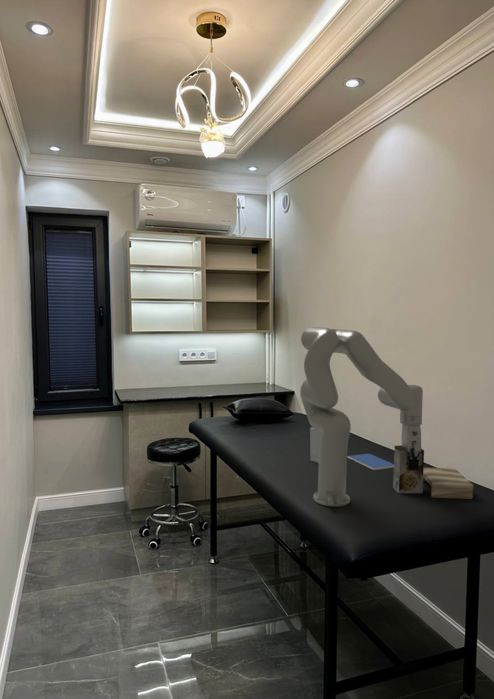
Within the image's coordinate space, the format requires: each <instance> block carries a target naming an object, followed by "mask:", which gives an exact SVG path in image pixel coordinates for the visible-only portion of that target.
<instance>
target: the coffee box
mask: <svg viewBox="0 0 494 699" xmlns="http://www.w3.org/2000/svg"><path fill="white" fill-rule="evenodd" d="M412 454H413V453H412ZM418 454H419V456H418V457H419V459H418V470H409V459H410V455H409V452H408V451H407V450H406V449H405V448H404V446H402V445H394V454H393V456H394V457H393V464H394V468H393V479H392V480H393V481H392V484H393V486H392V487H393V488H392V489H394V490H395V491H396V493H398V494H423V492H424V481H423V469H424V468H425V465H424V464H425V450H424V449H423V448H422V447H421V452H418Z"/></svg>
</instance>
